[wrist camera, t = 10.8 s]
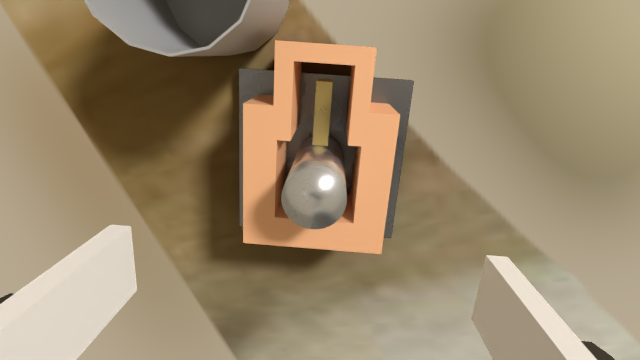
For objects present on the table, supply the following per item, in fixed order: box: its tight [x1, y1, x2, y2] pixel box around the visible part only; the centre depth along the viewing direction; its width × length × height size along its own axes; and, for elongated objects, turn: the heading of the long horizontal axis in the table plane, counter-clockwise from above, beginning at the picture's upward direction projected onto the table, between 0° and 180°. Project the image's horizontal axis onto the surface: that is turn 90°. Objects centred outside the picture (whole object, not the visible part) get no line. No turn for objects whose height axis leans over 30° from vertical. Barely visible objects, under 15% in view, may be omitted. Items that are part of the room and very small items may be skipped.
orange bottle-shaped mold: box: [243, 40, 400, 254], centre depth 24 cm, size 12×9×5 cm
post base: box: [239, 68, 414, 238], centre depth 24 cm, size 12×12×9 cm
